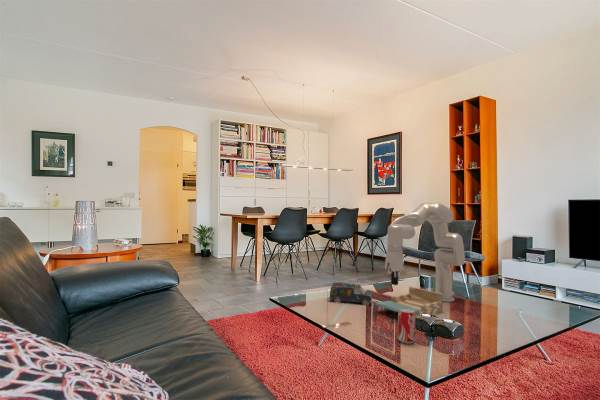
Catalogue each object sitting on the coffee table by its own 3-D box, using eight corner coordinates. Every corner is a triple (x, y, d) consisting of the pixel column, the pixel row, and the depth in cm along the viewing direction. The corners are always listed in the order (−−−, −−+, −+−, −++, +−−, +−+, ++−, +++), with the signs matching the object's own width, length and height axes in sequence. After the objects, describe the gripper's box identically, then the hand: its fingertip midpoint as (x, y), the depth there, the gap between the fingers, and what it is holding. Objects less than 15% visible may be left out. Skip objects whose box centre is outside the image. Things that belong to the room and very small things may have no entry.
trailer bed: (410, 303, 196) (410, 286, 196) (442, 312, 180) (442, 293, 180) (389, 308, 184) (389, 290, 184) (421, 318, 168) (421, 299, 168)
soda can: (394, 337, 142) (395, 307, 142) (410, 337, 143) (411, 307, 143) (401, 344, 135) (401, 312, 135) (418, 344, 136) (418, 312, 136)
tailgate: (389, 300, 183) (375, 302, 176) (420, 309, 168) (406, 311, 161) (389, 304, 183) (375, 306, 176) (419, 313, 168) (405, 316, 161)
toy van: (371, 306, 188) (372, 288, 188) (328, 302, 194) (329, 285, 194) (372, 301, 199) (372, 284, 199) (331, 297, 204) (331, 281, 205)
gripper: (397, 247, 179) (397, 281, 178) (380, 249, 170) (379, 284, 169) (409, 248, 173) (409, 284, 172) (391, 250, 164) (391, 287, 163)
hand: (394, 284), depth 171 cm, fingers closed
